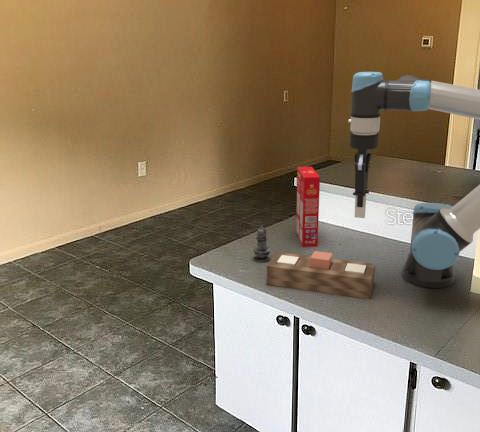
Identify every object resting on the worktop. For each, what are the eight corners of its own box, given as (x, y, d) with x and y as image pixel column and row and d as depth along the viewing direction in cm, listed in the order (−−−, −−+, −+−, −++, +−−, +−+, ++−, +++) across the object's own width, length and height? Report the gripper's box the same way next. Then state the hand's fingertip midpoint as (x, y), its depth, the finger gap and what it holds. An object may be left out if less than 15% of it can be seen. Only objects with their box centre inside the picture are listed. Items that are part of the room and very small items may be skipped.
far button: (298, 269, 164) (299, 257, 162) (294, 277, 159) (294, 264, 157) (281, 267, 165) (281, 254, 164) (276, 274, 161) (277, 261, 159)
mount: (373, 282, 160) (375, 263, 158) (369, 298, 150) (371, 279, 148) (276, 269, 169) (277, 252, 167) (266, 284, 159) (266, 265, 158)
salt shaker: (261, 254, 181) (261, 220, 177) (274, 259, 177) (274, 224, 173) (249, 259, 177) (248, 225, 173) (262, 264, 173) (262, 229, 169)
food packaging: (317, 246, 187) (319, 177, 179) (302, 247, 187) (304, 177, 178) (309, 231, 201) (311, 166, 193) (295, 232, 201) (297, 167, 192)
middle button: (331, 266, 160) (332, 253, 158) (328, 273, 155) (328, 260, 153) (313, 263, 161) (314, 251, 160) (310, 271, 156) (310, 257, 155)
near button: (365, 278, 157) (366, 265, 156) (363, 286, 152) (363, 272, 151) (346, 276, 159) (347, 263, 158) (343, 283, 154) (344, 270, 153)
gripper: (353, 127, 149) (349, 208, 156) (346, 136, 137) (342, 223, 145) (381, 128, 146) (376, 211, 154) (376, 137, 135) (370, 225, 142)
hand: (359, 216), depth 149 cm, fingers closed
